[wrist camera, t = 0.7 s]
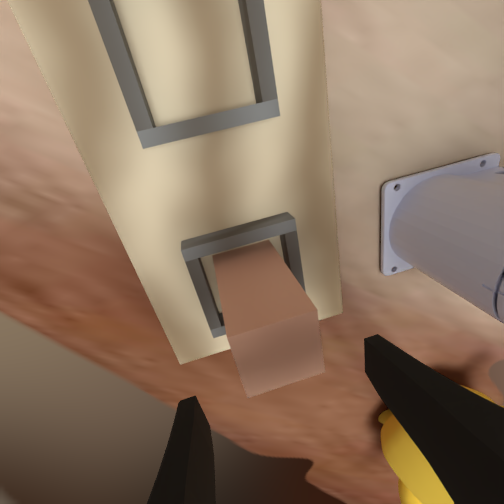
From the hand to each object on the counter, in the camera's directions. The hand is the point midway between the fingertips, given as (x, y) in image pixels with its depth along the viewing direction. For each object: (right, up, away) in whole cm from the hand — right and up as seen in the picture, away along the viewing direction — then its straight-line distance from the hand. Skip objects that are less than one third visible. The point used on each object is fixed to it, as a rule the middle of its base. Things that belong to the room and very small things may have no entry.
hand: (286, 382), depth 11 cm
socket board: (-3, +10, +6) cm, 12 cm away
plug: (-2, +4, +8) cm, 9 cm away
